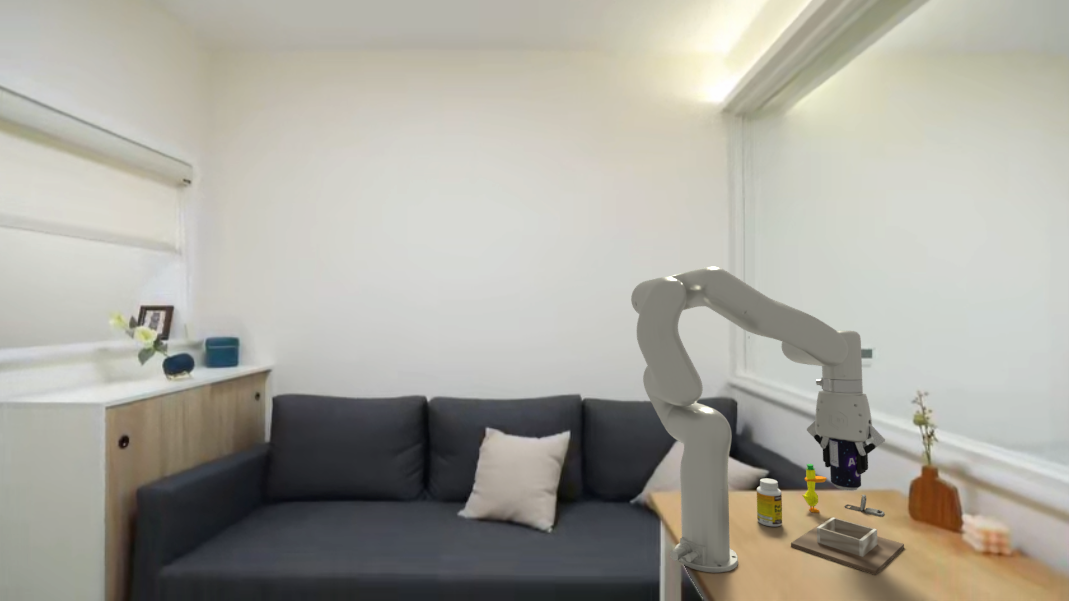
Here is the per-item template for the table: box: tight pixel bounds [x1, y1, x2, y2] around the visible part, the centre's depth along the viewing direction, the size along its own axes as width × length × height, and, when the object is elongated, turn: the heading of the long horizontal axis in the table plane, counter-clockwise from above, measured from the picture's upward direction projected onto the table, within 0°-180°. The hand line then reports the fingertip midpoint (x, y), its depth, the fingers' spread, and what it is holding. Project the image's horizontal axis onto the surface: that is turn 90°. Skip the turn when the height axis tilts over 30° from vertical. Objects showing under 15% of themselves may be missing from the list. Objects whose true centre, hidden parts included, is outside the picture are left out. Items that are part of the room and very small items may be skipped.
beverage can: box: [829, 438, 862, 491], centre depth 110 cm, size 6×6×12 cm
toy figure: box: [801, 463, 828, 514], centre depth 130 cm, size 7×4×12 cm, turn 94°
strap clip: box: [843, 494, 885, 518], centre depth 130 cm, size 8×3×4 cm, turn 42°
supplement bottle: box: [756, 477, 783, 528], centre depth 123 cm, size 6×6×10 cm
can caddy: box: [790, 516, 905, 576], centre depth 109 cm, size 18×16×4 cm
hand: (845, 468), depth 110 cm, fingers closed on beverage can, 5 cm apart
